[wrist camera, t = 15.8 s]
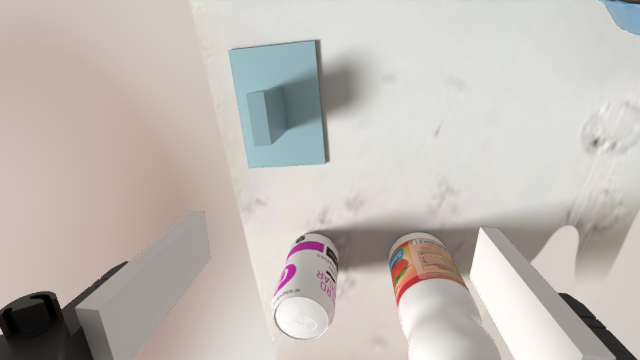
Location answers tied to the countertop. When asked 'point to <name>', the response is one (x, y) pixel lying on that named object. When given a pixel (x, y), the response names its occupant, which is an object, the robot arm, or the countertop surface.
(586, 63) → the countertop surface
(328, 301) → the supplement can
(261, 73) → the lid
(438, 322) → the fruit juice
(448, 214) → the countertop surface
